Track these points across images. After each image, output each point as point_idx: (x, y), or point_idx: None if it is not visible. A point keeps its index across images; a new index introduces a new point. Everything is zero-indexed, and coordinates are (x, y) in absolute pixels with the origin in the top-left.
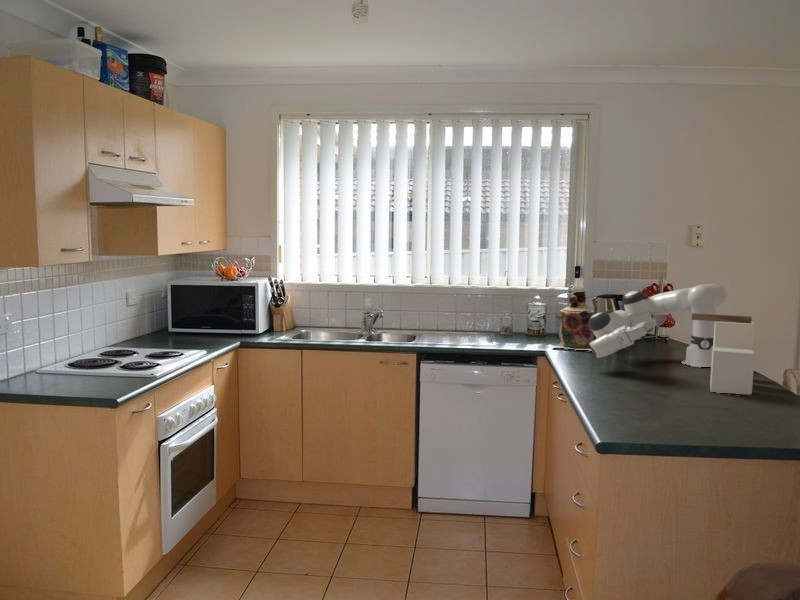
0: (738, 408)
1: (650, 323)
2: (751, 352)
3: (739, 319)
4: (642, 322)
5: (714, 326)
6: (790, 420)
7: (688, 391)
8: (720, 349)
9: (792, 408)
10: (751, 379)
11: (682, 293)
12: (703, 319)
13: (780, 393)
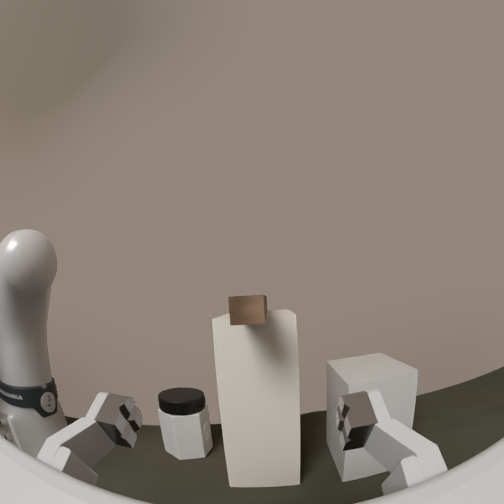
0: (479, 407)
1: (87, 446)
2: (366, 356)
3: (266, 304)
4: (8, 464)
5: (217, 342)
6: (471, 380)
7: None
8: (380, 372)
9: None
10: None
11: None
12: (265, 315)
13: (308, 419)
